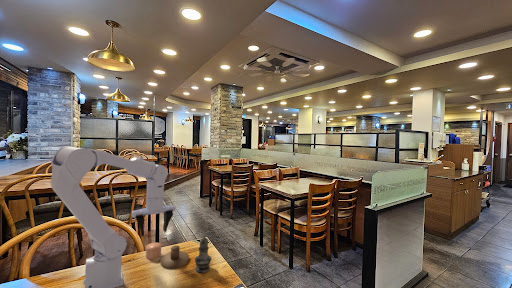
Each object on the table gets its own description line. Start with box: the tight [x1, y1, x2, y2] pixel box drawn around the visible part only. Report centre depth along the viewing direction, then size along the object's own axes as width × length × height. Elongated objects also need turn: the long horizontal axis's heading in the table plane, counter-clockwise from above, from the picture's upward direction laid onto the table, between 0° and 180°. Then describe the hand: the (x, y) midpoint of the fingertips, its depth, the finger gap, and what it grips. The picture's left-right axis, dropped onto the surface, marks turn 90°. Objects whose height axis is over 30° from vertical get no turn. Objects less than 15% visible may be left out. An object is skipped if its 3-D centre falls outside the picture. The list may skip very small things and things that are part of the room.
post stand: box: [159, 245, 190, 270], centre depth 82 cm, size 10×10×5 cm
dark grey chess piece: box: [194, 235, 213, 274], centre depth 78 cm, size 6×6×12 cm
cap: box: [145, 242, 162, 260], centre depth 85 cm, size 5×5×4 cm
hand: (153, 232), depth 81 cm, fingers open, 7 cm apart
